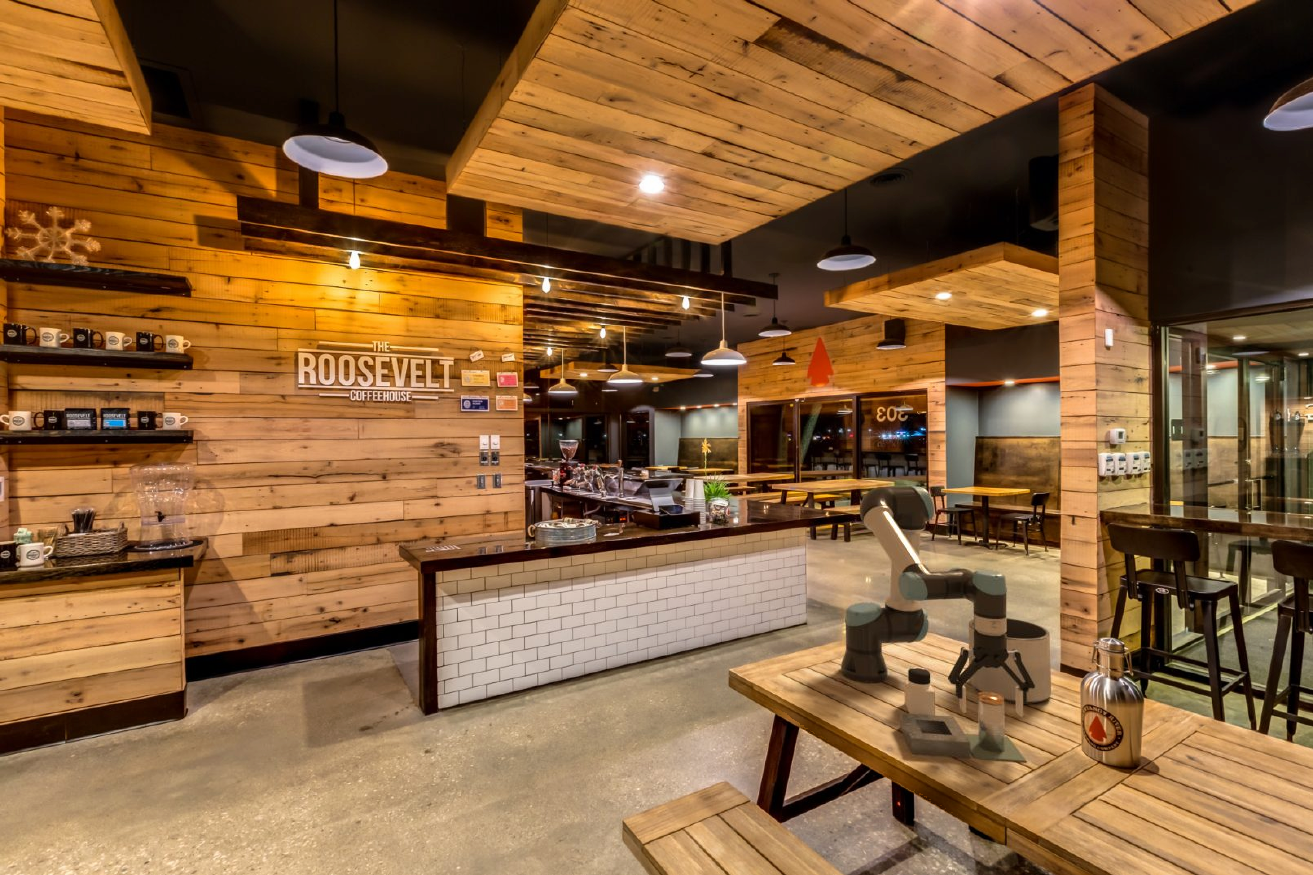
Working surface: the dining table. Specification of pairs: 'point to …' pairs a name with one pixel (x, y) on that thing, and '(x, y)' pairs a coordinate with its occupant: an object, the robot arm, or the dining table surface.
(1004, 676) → the planter
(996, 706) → the glass jar
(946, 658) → the dining table surface
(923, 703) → the medicine bottle
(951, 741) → the housing
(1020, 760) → the mat
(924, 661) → the dining table surface
